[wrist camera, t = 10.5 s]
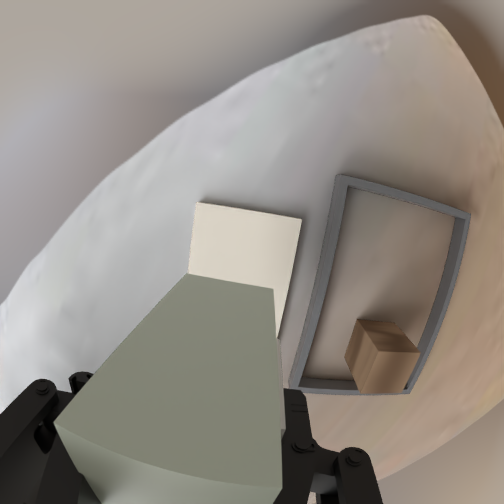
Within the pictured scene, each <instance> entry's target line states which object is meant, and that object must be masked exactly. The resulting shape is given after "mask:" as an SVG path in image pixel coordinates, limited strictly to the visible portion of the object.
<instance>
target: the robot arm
mask: <svg viewBox="0 0 504 504" xmlns="http://www.w3.org/2000/svg"><path fill="white" fill-rule="evenodd" d="M276 340H277V358H278V378H279V400H280V425H281V454H282V489H281V491H280V493H279V494H278V496H277V498H276V499H275V501H274V502H273V504H307V501H308V497H309V493H310V491H311V492H315V493H316V502H317V504H383V502H382V498H381V494H380V491H379V487H378V484H377V480H376V477H375V473H374V470H373V466H372V463H371V460H370V457H369V455H368V454H367V453H366V452H365V451H364V450H362V449H360V448H356V447H349V448H345V449H343V450H342V451H341V452H340V453H339V452H335V451H331V450H327V449H324V448H322V447H320V446H319V445H318V444H317V442H316V441H315V440H314V439H313V438H312V433H311V427H310V420H309V414H308V408H307V402H306V397H305V396H304V394H303V393H302V391H301V390H296V389H286V388H283V377H282V362H281V348H280V339H276ZM93 375H94V374H92V373H89V372H77V373H75V374H73V375H71V376H70V378H69V382H70V386H71V390H72V393H70V392H64V391H59V390H57V389H56V386H55V384H54V383H53V382H52V381H50V380H47V379H39V380H35V381H34V382H32V383H31V384H30V385H29V386H28V387H27V388H26V389H25V390H24V391H23V392H22V393H21V394H20V395H19V396H18V397H17V398H16V399H15V400H14V401H13V402H12V403H11V404H10V405H9V406H8V407H7V408H6V409H5V410H4V411H3V412H2V413H1V414H0V504H102V503H101V502H100V500H99V499H98V498H97V496H96V495H95V493H94V491H93V490H92V488H91V487H90V485H89V484H88V482H87V480H86V479H85V477H84V475H83V474H81V473H79V472H78V470H77V468H76V467H75V465H74V463H73V461H72V459H71V458H70V456H69V454H68V452H67V450H66V448H65V446H64V444H63V442H62V440H61V438H60V436H59V434H58V432H57V430H56V427H55V425H54V423H53V422H54V421H55V420H56V418H57V417H58V416H59V415H60V414H61V412H62V411H63V410H64V409H65V408H66V406H67V405H68V404H69V403H70V402H71V400H72V399H73V398H74V397H75V396H76V395H77V393H78V392H79V391H80V390H81V389H82V388H83V386H84V385H85V384H86V383H87V382H88V381H89V379H90V378H91V377H92V376H93Z"/></svg>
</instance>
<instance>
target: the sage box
mask: <svg viewBox="0 0 504 504" xmlns="http://www.w3.org/2000/svg"><path fill="white" fill-rule="evenodd" d="M53 423H54V425H55V427H56V430H57V432H58V434H59V436H60V438H61V440H62V442H63V444H64V446H65V448H66V450H67V452H68V454H69V456H70V458H71V459H72V461H73V463H74V465H75V467H76V468H77V470H78V472H79V473H81V474H83V475H84V477H85V479H86V480H87V482H88V484H89V485H90V487H91V488H92V490H93V491H94V493H95V495H96V496H97V498H98V499H99V500H100V502H101V503H102V504H273V502H274V501H275V499H276V498H277V496H278V494H279V493H280V491H281V489H282V454H281V425H280V400H279V378H278V358H277V340H276V322H275V306H274V290H273V288H266V287H260V286H254V285H249V284H243V283H237V282H231V281H226V280H220V279H215V278H209V277H204V276H198V275H193V274H188V273H186V274H185V275H184V277H183V278H182V279H181V280H180V281H179V282H178V283H177V284H176V285H175V286H174V287H173V288H172V289H171V290H170V291H169V292H168V293H167V294H166V295H165V297H164V298H163V299H162V300H161V301H160V302H159V303H158V304H157V305H156V306H155V307H154V308H153V309H152V310H151V312H150V313H149V314H148V315H147V316H146V317H145V318H144V319H143V320H142V321H141V322H140V323H139V325H138V326H137V327H136V328H135V329H134V330H133V331H132V332H131V333H130V334H129V335H128V337H127V338H126V339H125V340H124V341H123V342H122V343H121V344H120V345H119V347H118V348H117V349H116V350H115V351H114V352H113V353H112V354H111V356H110V357H109V358H108V359H107V360H106V361H105V362H104V363H103V365H102V366H101V367H100V368H99V369H98V370H97V371H96V373H95V374H94V375H93V376H92V377H91V378H90V379H89V381H88V382H87V383H86V384H85V385H84V386H83V388H82V389H81V390H80V391H79V392H78V393H77V395H76V396H75V397H74V398H73V399H72V400H71V402H70V403H69V404H68V405H67V406H66V408H65V409H64V410H63V411H62V412H61V414H60V415H59V416H58V417H57V418H56V420H55V421H54V422H53Z"/></svg>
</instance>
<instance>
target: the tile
mask: <svg viewBox="0 0 504 504" xmlns="http://www.w3.org/2000/svg"><path fill="white" fill-rule="evenodd" d="M301 222H302V219H300V218H295V217H289V216H284V215H278V214H272V213H266V212H260V211H254V210H248V209H242V208H236V207H229V206H223V205H216V204H210V203H203V202H196V208H195V215H194V223H193V230H192V239H191V247H190V256H189V265H188V274H193V275H198V276H204V277H209V278H215V279H220V280H226V281H231V282H237V283H243V284H249V285H254V286H260V287H266V288H273V290H274V306H275V322H276V339H277V337H278V332H279V328H280V324H281V319H282V315H283V311H284V306H285V301H286V297H287V292H288V288H289V283H290V278H291V273H292V268H293V263H294V258H295V253H296V248H297V243H298V238H299V233H300V227H301Z"/></svg>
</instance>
